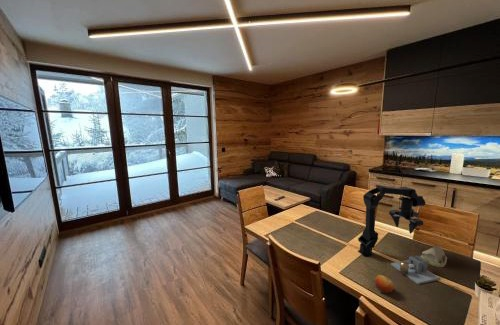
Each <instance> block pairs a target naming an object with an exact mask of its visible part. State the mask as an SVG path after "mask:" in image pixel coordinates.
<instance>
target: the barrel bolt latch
mask: <svg viewBox="0 0 500 325" xmlns="http://www.w3.org/2000/svg"><path fill="white" fill-rule="evenodd" d="M420 256H421V255H414V256H412V255H411V256H409V257H408V259H405V260H404V261H405V262H407V263H409V264H413V263H416V267H413V268H408V274H404V273H402V274H403V275H405V276H406V277H408V278H409V279H410V280H411V281H412V282H414V283H416V284H417V285H421V284H425V283H430V282H434V281H440V280H441V279H440V277H439V276H438V275H436V274H434V273H433V272H431V271H430V270H428V265H429V264H428V261H427V260H425V259H423V258H422V257H420ZM401 261H402V260H401ZM401 261H395V262H390V266H392V267H394V268H395V269H396V270H397V271H399V272H400V264H401ZM427 264H428V265H427Z"/></svg>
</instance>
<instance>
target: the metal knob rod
mask: <svg viewBox="0 0 500 325" xmlns="http://www.w3.org/2000/svg"><path fill="white" fill-rule="evenodd" d="M428 265H430V264H429V263H428V264H427V266H428ZM413 267H416V263H413V264H409V263H407V262H405V260H401V264H400V271H399V272H400V273H402V274H403V273H404V274H403V275H405V274H408V268H413Z"/></svg>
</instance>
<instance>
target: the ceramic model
mask: <svg viewBox="0 0 500 325" xmlns="http://www.w3.org/2000/svg"><path fill="white" fill-rule="evenodd" d="M419 256H420V257H422V258H423V259H425V260H427V261H428V263H429V264H428V265H430V266H433V267H436V268H443V267H445V266H446V265H447V261H448V257H447V255H445V251H444V250H443V248H442V247H441V246H440V245H438V244H437V245H436V244H434V245H433V246H432V247H430V248H427V249H426V250H423V251H422V253H421V255H419Z"/></svg>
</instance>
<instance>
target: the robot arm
mask: <svg viewBox="0 0 500 325" xmlns="http://www.w3.org/2000/svg"><path fill="white" fill-rule="evenodd" d="M376 194H377V195H376ZM386 194H389V195H397V196H398V195H399V196H401V197H399V198H398V200H399V201H401V203H400V207H398V209H399V210H397V209H391V210H389V212H388V215H390V217H391V218H392V220H393V222H394V225H395V227H397V228H398V227H399V224H400V219H401V218H403V219H405V220H406V221H408V222H409V224H408V229H409V230H408V233H409V234H413V232H414V230H415V229H416V228H417V227H421V226H424V220H421V219H419V218H418V217H419V216H420V213H419V212H416V211H415V210H414V208H416V207H424V206H426V200H425V199H424V196H423V195H418V194H417V191H416V189H414V188H412V187H411V188H410V187H408V186H400V187H395V186H394V187H393V186H385V185H384V186H383V185H378V186H376V187H375V188H372V189H370V190H368V191H367V192H365V193H364V194H363V196H362V197H363V203H364V205H365V228H364V229H363V230H362V234H361V235H360V236H359V237H358V238H357V241H358V242H359V243H360V244H359V250H357V252H358V253H360V254H361V255H362V256H363V257H366V258H368V257H373V256H374V254H373V249H374V248H375V247H376V245H377V243H378V240H379V233H378V232H377V231H375V222H376V208H377V207H378V205H379V202H380V201H381V200H383V199H384V198H383V197H384V196H385V195H386Z"/></svg>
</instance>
